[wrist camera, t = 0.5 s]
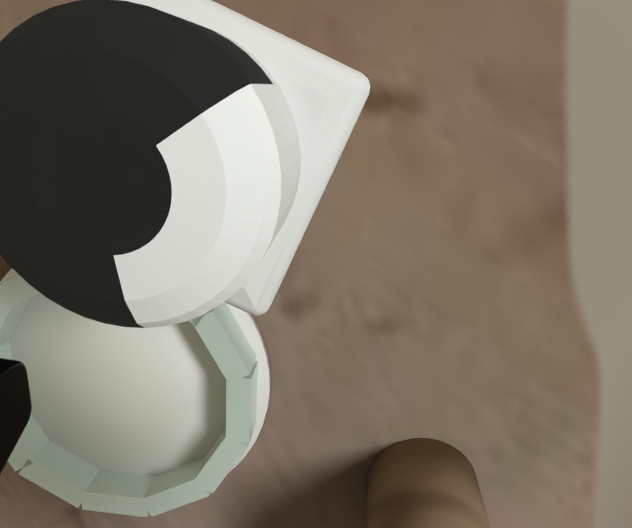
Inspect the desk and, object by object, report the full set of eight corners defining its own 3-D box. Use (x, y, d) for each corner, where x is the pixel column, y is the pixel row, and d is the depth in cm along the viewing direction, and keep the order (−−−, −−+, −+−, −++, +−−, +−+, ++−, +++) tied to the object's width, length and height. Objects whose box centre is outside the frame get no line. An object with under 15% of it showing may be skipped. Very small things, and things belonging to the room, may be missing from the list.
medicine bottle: (130, 175, 22) (-130, 275, 10) (191, -6, 19) (-55, -137, 8) (293, 250, 22) (217, 426, 11) (372, 81, 20) (382, 76, 8)
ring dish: (182, 533, 27) (168, 569, 25) (-53, 397, 26) (-88, 423, 24) (328, 342, 23) (325, 366, 21) (59, 169, 22) (28, 177, 20)
